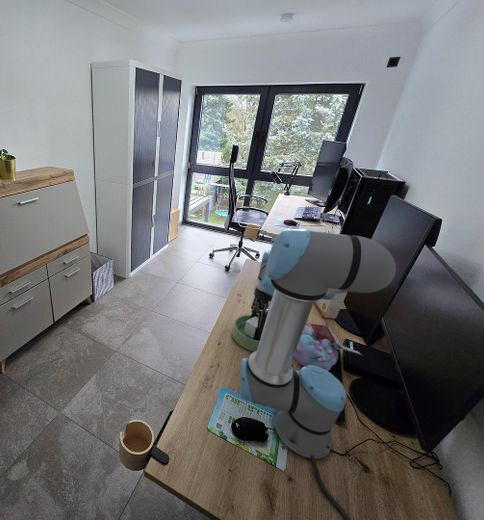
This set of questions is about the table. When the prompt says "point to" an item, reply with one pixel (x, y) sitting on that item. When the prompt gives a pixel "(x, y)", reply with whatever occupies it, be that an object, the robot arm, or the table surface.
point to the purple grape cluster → (319, 347)
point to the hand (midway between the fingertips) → (254, 332)
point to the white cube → (251, 326)
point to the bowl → (244, 334)
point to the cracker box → (331, 305)
